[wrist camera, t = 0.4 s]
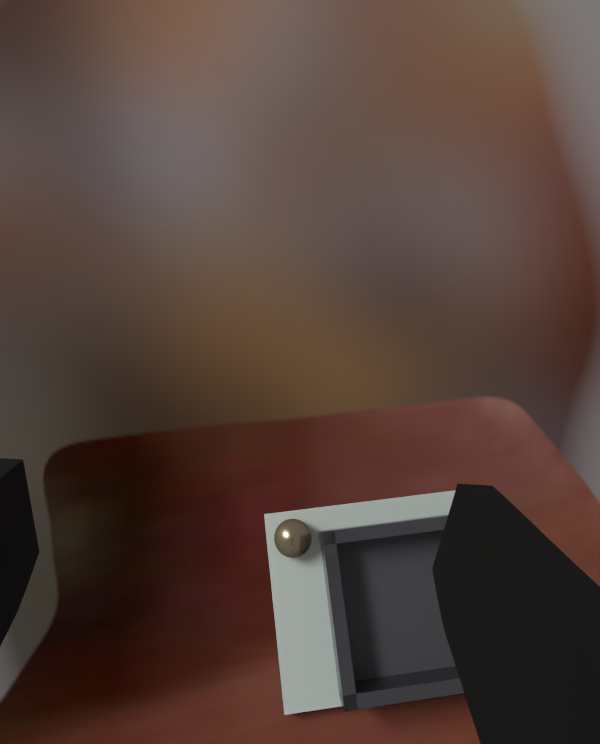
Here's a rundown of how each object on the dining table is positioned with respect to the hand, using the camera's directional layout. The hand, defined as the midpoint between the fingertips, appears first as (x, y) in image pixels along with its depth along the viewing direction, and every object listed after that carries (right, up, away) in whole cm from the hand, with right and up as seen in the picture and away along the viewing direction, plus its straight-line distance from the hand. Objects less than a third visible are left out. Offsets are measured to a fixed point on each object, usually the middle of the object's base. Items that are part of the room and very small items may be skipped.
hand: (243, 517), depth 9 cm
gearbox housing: (+6, -12, +27) cm, 30 cm away
